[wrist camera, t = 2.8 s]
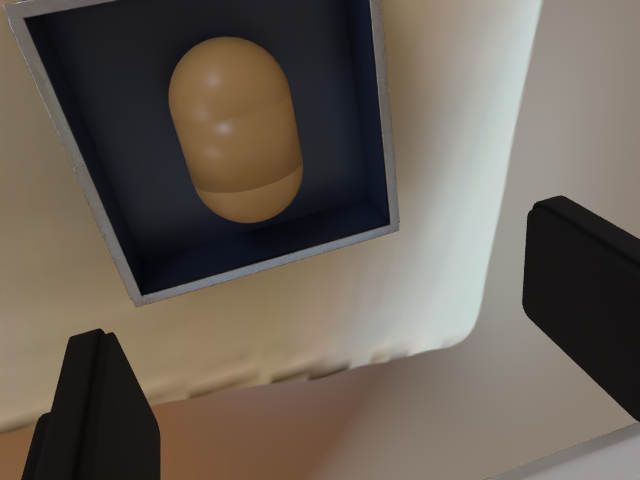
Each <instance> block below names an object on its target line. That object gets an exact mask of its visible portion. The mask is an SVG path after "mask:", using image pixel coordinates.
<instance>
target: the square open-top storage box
mask: <svg viewBox="0 0 640 480" xmlns="http://www.w3.org/2000/svg"><path fill="white" fill-rule="evenodd" d="M3 7H4V10H5V12H6V14H7V16H8V19H9V20H8V23H9V25H10V27H11V29H12V32H13V34H14V36H15V38H16V41H17V43H18V45H19V47H20V50H21V52H22V54H23V57H24V59H25V61H26V63H27V66H28V68H29V70H30V72H31V75H32V77H33V79H34V81H35V84H36V86H37V88H38V90H39V93H40V95H41V97H42V99H43V102H44V104H45V106H46V109H47V111H48V113H49V115H50V118H51V120H52V122H53V124H54V127H55V129H56V131H57V133H58V136H59V138H60V140H61V142H62V145H63V147H64V149H65V152H66V154H67V156H68V158H69V161H70V163H71V165H72V167H73V170H74V172H75V174H76V176H77V179H78V181H79V183H80V185H81V188H82V190H83V192H84V195H85V197H86V199H87V201H88V204H89V206H90V208H91V210H92V213H93V215H94V217H95V219H96V222H97V224H98V226H99V228H100V231H101V233H102V235H103V237H104V240H105V242H106V244H107V247H108V249H109V251H110V253H111V256H112V258H113V260H114V262H115V265H116V267H117V269H118V271H119V274H120V276H121V278H122V280H123V283H124V285H125V287H126V290H127V292H128V294H129V296H130V299H131V300H133V303H134V305H135V307H140V306H143V305H146V304H150V303H153V302H157V301H160V300H164V299H167V298H170V297H174V296H177V295H181V294H184V293H188V292H191V291H194V290H198V289H201V288H205V287H208V286H212V285H215V284H218V283H222V282H225V281H229V280H232V279H236V278H239V277H242V276H246V275H249V274H253V273H256V272H260V271H263V270H266V269H270V268H273V267H277V266H280V265H284V264H287V263H290V262H294V261H297V260H301V259H304V258H307V257H311V256H314V255H318V254H321V253H325V252H328V251H331V250H335V249H338V248H342V247H345V246H349V245H352V244H355V243H359V242H362V241H366V240H369V239H373V238H376V237H379V236H383V235H386V234H390V233H393V232H397V231H399V223H400V221H399V208H398V196H397V184H396V172H395V160H394V147H393V135H392V123H391V111H390V99H389V87H388V74H387V62H386V50H385V38H384V26H383V13H382V1H381V0H23V1H20V2H15V3H10V4H5V5H3ZM224 36H226V37H238V38H242V39H245V40H248V41H251V42H253V43H255V44H257V45H258V46H260V47H262V48H264V49H265V50H266V51H267V52H268V53H269V54H271V55H272V56H273V57H274V59H275V60H276V61H277V63H278V64H279V65H280V67H281V68H282V70H283V72H284V74H285V76H286V78H287V81H288V85H289V88H290V93H291V98H292V104H293V109H294V115H295V120H296V126H297V131H298V136H299V142H300V147H301V153H302V158H303V174H302V182H301V185H300V187H299V190H298V192H297V194H296V196H295V197H294V199H293V200H292V202H291V203H290V204H289V205H288V206H287V207H286V208H285V209H284V210H283V211H282V212H280V213H279V214H278V215H276V216H274V217H272V218H270V219H267V220H264V221H260V222H255V223H239V222H235V221H231V220H227V219H225V218H223V217H221V216H219V215H218V214H216V213H214V212H213V211H212V210H211V209H210V208H209V207H208V206H206V205H205V204H204V203H203V201H202V200H201V198H200V197H199V196H198V194H197V192H196V190H195V187H194V185H193V183H192V180H191V177H190V173H189V170H188V167H187V164H186V161H185V158H184V154H183V151H182V148H181V145H180V142H179V138H178V135H177V132H176V129H175V126H174V122H173V119H172V116H171V112H170V107H169V87H170V82H171V77H172V75H173V72H174V70H175V68H176V66H177V64H178V63H179V61H180V60H181V59H182V57H183V56H184V55H185V54H186V53H187V52H188V51H189V50H191V49H192V48H193V47H194V46H196V45H198V44H200V43H202V42H203V41H205V40H208V39H212V38H216V37H224Z"/></svg>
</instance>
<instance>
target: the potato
mask: <svg viewBox="0 0 640 480" xmlns="http://www.w3.org/2000/svg"><path fill="white" fill-rule="evenodd" d="M169 107H170V112H171V116H172V119H173V122H174V126H175V129H176V132H177V135H178V138H179V142H180V145H181V148H182V151H183V154H184V158H185V161H186V164H187V167H188V170H189V173H190V177H191V180H192V183H193V185H194V187H195V190H196V192H197V194H198V196H199V197H200V198H201V200H202V201H203V203H204V204H205V205H206V206H208V207H209V208H210V209H211V210H212V211H213V212H214V213H216V214H218V215H219V216H221V217H223V218H225V219H227V220H231V221H235V222H239V223H255V222H260V221H264V220H267V219H270V218H272V217H274V216H276V215H278V214H279V213H280V212H282V211H283V210H284V209H285V208H286V207H287V206H288V205H289V204H290V203H291V202H292V200H293V199H294V197H295V196H296V194H297V192H298V190H299V187H300V185H301V182H302V174H303V158H302V153H301V147H300V142H299V136H298V131H297V126H296V120H295V115H294V109H293V104H292V98H291V93H290V88H289V85H288V81H287V78H286V76H285V74H284V72H283V70H282V68H281V67H280V65H279V64H278V63H277V61H276V60H275V59H274V57H273V56H272V55H271V54H269V53H268V52H267V51H266V50H265V49H264V48H262V47H260V46H258V45H257V44H255V43H253V42H251V41H248V40H245V39H242V38H238V37H226V36H224V37H216V38H212V39H208V40H205V41H203V42H202V43H200V44H198V45H196V46H194V47H193V48H192V49H191V50H189V51H188V52H187V53H186V54H185V55H184V56H183V57H182V59H181V60H180V61H179V63H178V64H177V66H176V68H175V70H174V72H173V75H172V77H171V82H170V87H169Z"/></svg>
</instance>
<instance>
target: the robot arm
mask: <svg viewBox="0 0 640 480" xmlns="http://www.w3.org/2000/svg"><path fill="white" fill-rule="evenodd" d="M526 232H527V233H526V247H525V265H524V281H523V298H522V305H523V308H524V311H525V313H526V315H527V316H528V317H529V319H531V320H532V321H533V322H534V323H535V324H536V325H537V326H538V327H539V328H540V329H541V330H542V331H543V332H544V333H545V334H546V335H547V336H548V337H549V338H550V339H551V340H552V341H553V342H555V343H556V344H557V345H558V346H559V347H560V348H561V349H562V350H563V351H564V352H565V353H566V354H567V355H568V356H569V357H570V358H571V359H572V360H573V361H574V362H575V363H576V364H578V365H579V366H580V367H581V368H582V369H583V370H584V371H585V372H586V373H587V374H588V375H589V376H590V377H591V378H592V379H593V380H594V381H595V382H596V383H597V384H598V385H599V386H601V387H602V388H603V389H604V390H605V391H606V392H607V393H608V394H609V395H610V396H611V397H612V398H613V399H614V400H615V401H616V402H617V403H618V404H619V405H620V406H621V407H622V408H624V409H625V410H626V411H627V412H628V413H629V414H630V415H631V416H632V417H633V418H634V419H636V420H637V421H639V422H637V423H635V424H632V425H629V426H627V427H624V428H621V429H618V430H616V431H613V432H610V433H608V434H605V435H602V436H599V437H597V438H594V439H591V440H589V441H586V442H583V443H581V444H578V445H575V446H573V447H570V448H567V449H565V450H562V451H559V452H557V453H554V454H551V455H549V456H546V457H543V458H541V459H538V460H536V461H533V462H530V463H527V464H525V465H522V466H519V467H517V468H514V469H511V470H509V471H506V472H503V473H501V474H498V475H495V476H493V477H490V478H487V479H485V480H640V239H638V238H637V237H634V236H633V235H631V234H629V233H628V232H626V231H624V230H623V229H621V228H619V227H617V226H616V225H614V224H612V223H610V222H609V221H607V220H605V219H603V218H602V217H600V216H598V215H596V214H594V213H593V212H591V211H589V210H588V209H586V208H584V207H582V206H581V205H579V204H577V203H575V202H574V201H572V200H570V199H568V198H567V197H564V196H556V197H552V198H549V199H546V200H542V201H538V202H536V203H535V204H534V206H533V208H532V210H531V211H529V213H528V216H527V231H526ZM21 480H160V431H159V427H158V423H157V421H156V418H155V416H154V414H153V412H152V410H151V408H150V406H149V404H148V402H147V399H146V397H145V395H144V393H143V391H142V389H141V387H140V385H139V383H138V381H137V379H136V377H135V375H134V372H133V370H132V368H131V366H130V364H129V362H128V360H127V358H126V356H125V354H124V352H123V350H122V347H121V345H120V343H119V341H118V339H117V337H116V335H115V334H114V333H113V332H111V333H107V334H105V333H104V331H103V330H102V329H100V328H99V329H95V330H92V331H89V332H85V333H82V334H78V335H75V336H72V337H70V338H69V341H68V344H67V348H66V352H65V356H64V360H63V364H62V368H61V372H60V376H59V380H58V384H57V388H56V392H55V396H54V401H53V405H52V409H51V412H49V413H45V414H43V415H42V416H41V417H40V418H39V420H38V422H37V424H36V427H35V431H34V435H33V438H32V442H31V446H30V450H29V453H28V457H27V461H26V464H25V468H24V471H23V475H22V479H21Z"/></svg>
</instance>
